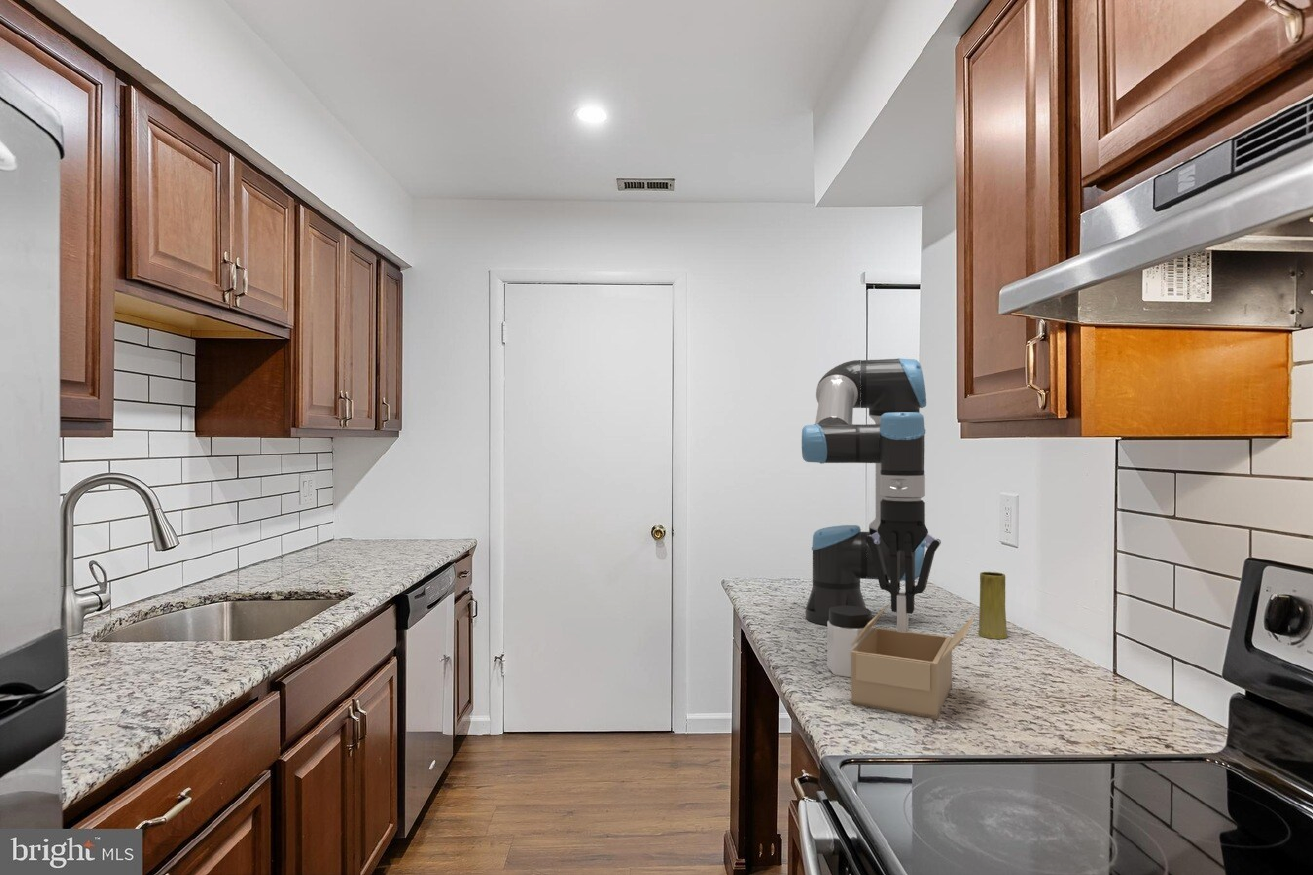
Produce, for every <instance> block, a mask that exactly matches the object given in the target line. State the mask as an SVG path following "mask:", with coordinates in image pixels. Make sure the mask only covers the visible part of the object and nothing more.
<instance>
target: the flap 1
mask: <svg viewBox="0 0 1313 875" xmlns="http://www.w3.org/2000/svg"><path fill="white" fill-rule="evenodd" d="M888 607H889V605H888V604H886V605H885V606H884V607H883V608H882V609H881V610H880V611H879V612H878V613H877V614H876V615H875V616H874V617H872V620H871V621H870V622H869V623H868V624H867V625H866V626H865V627H864V629H863V630H862V631H861V633H860V634H859V635H858V637H857V638H856V639H855V640H854V642H853V643H852V644H851V645H852V646H853V645H854V644H855V643H856V642H857V641H858V640H859V639H860V638H861V637H862V636H863V635H864V634H865V633H866V632H867V631H868V630H869V629H870V628H871V627H872V626H873V627H874V625H875V624H876V623H877V621H878V620H879V619H880V617H881V616H882V615H883V614H884V612H886V610H887V609H888Z"/></svg>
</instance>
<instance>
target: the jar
mask: <svg viewBox="0 0 1313 875" xmlns="http://www.w3.org/2000/svg"><path fill="white" fill-rule="evenodd" d="M872 619H873V615H872V611H871V610H870V609H869V608H867V607H866V608H863V607H858V606H835V607H831V608H830V609H829V621H827V625H826V626H827V628H826V630H827V634H826V635H827V636H826V637H827V639H826V640H827V641H826V642H827V645H826V646H827V647H826V648H827V649H826V651H827V661H826V663H827V664H826V665H827V668H828V670H829V671H830V672H831V673H832V674H833V675H834V676H839V677H846V678H851V651H852V650H853V649H854V648H855V647H856V646H857V645H858V644H859V643H860V642H861V641H862V640H863V639H864V638H865V637H866V636H867V635H868V634H869V633H870V632H871V631H872V630H873V629H874V628H875V627H874V625H873V626H872V627H871V628H870V629H869V630H868V631H867V632H866V633H865V634H864V635H863V636H862V637H861V638H860V639H859V640H858V641H857V642H856V643H855V644H854V645H853V646H852V645H851V644H852V643H853V642H854V640H855V639H856V638H857V637H858V635H859V634H860V633H861V631H862V630H863V629H864V627H865V626H866V625H867V624H868V623H869V622H870V621H871V620H872Z"/></svg>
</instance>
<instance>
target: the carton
mask: <svg viewBox="0 0 1313 875" xmlns="http://www.w3.org/2000/svg"><path fill="white" fill-rule="evenodd" d="M952 638H953V636H946V635H941V634H940V635H938V634H931V633H923V632H914V631H909V630H908V631H907V632H906V633H901V632H897V629H890V628H882V627H874V629H873V630H872V631H871V632H870V633H869V634H868V635H867V636H866V637H865V638H864V639H863V640H862V641H861V642H860V643H859V644H858V645H857V646H856V647H855V648H854V649H853V650H852V651H851V677H850V704H851V705H856V706H861V707H867V708H872V709H878V710H883V711H889V712H894V713H900V714H905V715H912V716H917V717H921V718H923V717H924V718H930V719H934V720H935V719H936V720H938V718H939V715H940V713H941V711H942V709H943V707H944V705H945V702H946V700H947V698H948V695H949V693H950V691H951V689H952V687H953V650H952V651H951V652H950V653H949V654H948V655H947V656H946V657H945V658H944V659H943V658H942V656H943V654H944V653H945V651H946V649H947V647H948V645H949V644H950V642H951V640H952Z"/></svg>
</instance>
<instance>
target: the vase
mask: <svg viewBox="0 0 1313 875" xmlns="http://www.w3.org/2000/svg"><path fill="white" fill-rule="evenodd" d="M979 574H980V575H979V580H980V581H979V615H978V616H979V618H978V619H979V621H978V622H979V623H978V625H979V626H978V635H979V636H980V637H982V638H986V639H993V640H1004V639H1007V638H1008V632H1007V631H1008V629H1007V627H1008V626H1007V617H1006V615H1007V614H1006V574H1005V573H1002V572H996V571H983V572H980V573H979Z"/></svg>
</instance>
